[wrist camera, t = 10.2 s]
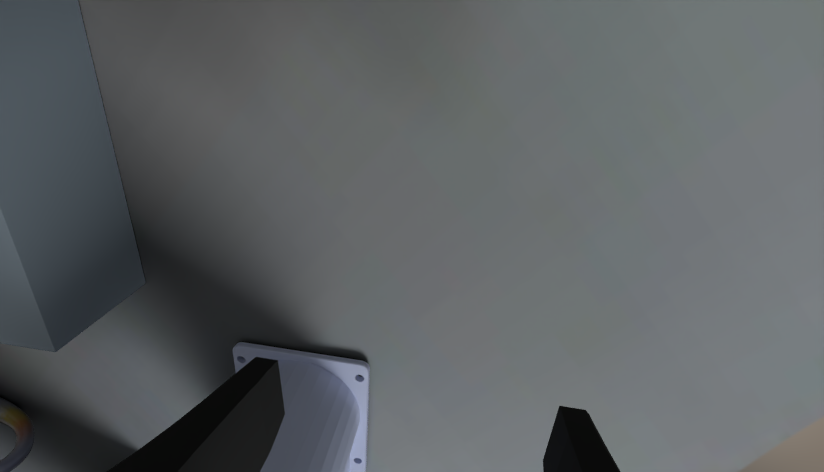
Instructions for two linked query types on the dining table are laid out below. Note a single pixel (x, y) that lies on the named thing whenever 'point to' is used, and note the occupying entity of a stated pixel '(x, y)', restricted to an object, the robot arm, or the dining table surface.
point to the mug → (24, 431)
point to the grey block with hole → (57, 182)
